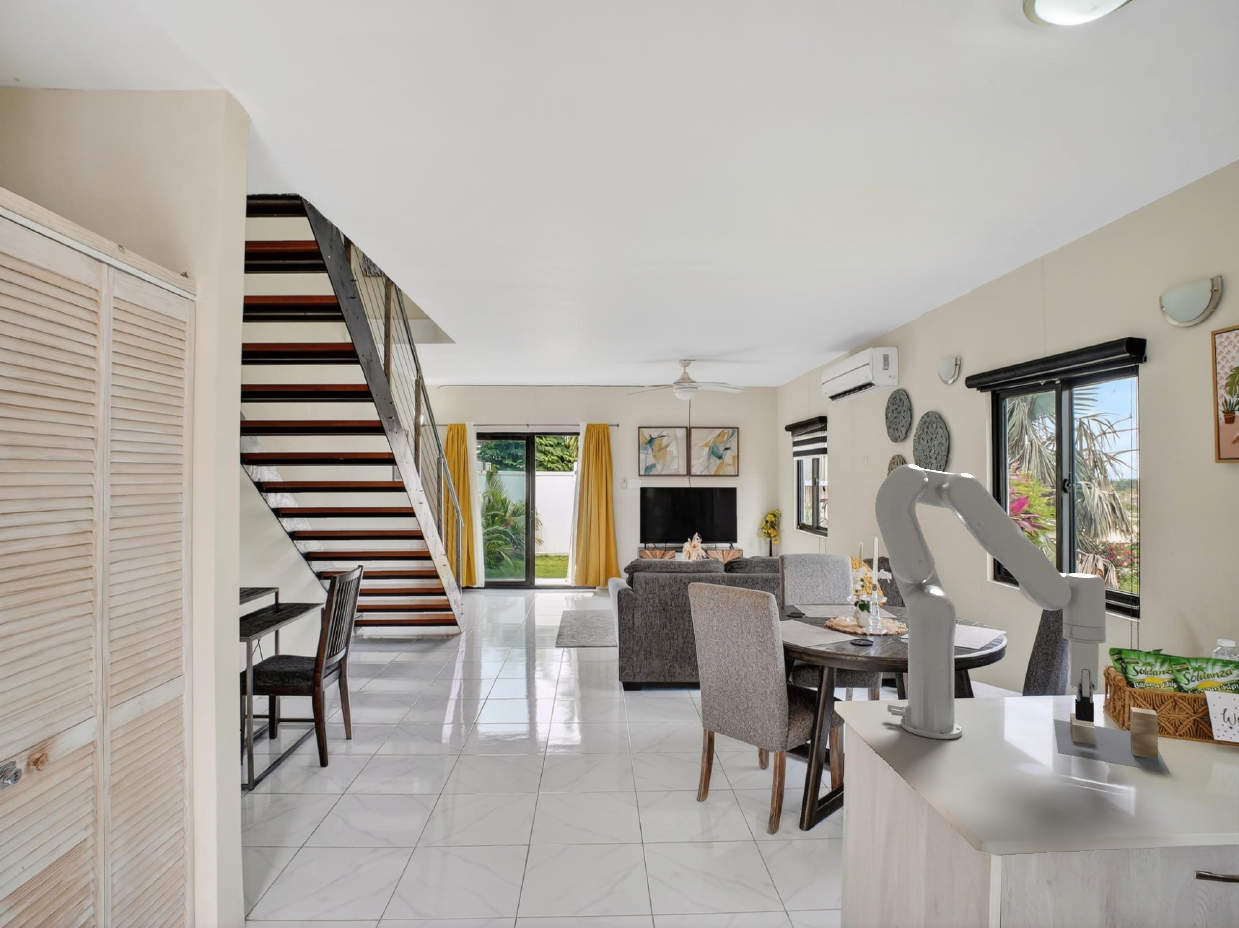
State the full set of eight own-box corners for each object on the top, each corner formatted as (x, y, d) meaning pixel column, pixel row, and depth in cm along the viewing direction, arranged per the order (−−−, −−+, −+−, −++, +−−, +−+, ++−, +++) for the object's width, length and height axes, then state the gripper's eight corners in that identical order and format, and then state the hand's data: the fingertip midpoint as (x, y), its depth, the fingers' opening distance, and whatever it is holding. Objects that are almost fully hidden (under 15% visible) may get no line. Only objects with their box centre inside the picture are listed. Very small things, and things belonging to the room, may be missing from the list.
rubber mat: (1058, 754, 139) (1058, 752, 139) (1053, 720, 160) (1053, 719, 160) (1170, 775, 130) (1170, 772, 130) (1150, 736, 150) (1150, 734, 150)
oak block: (1133, 756, 138) (1132, 711, 138) (1130, 750, 141) (1130, 706, 141) (1158, 760, 136) (1157, 715, 136) (1155, 754, 139) (1154, 710, 139)
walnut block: (1072, 724, 146) (1070, 712, 154) (1072, 740, 146) (1070, 728, 154) (1095, 727, 144) (1091, 715, 152) (1095, 744, 144) (1091, 731, 151)
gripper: (1061, 624, 153) (1062, 707, 152) (1064, 636, 140) (1064, 727, 139) (1102, 628, 149) (1103, 713, 148) (1109, 641, 136) (1110, 734, 135)
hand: (1084, 719), depth 144 cm, fingers closed
